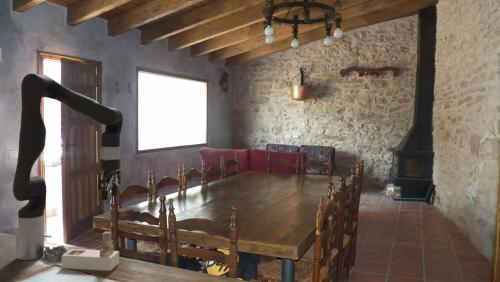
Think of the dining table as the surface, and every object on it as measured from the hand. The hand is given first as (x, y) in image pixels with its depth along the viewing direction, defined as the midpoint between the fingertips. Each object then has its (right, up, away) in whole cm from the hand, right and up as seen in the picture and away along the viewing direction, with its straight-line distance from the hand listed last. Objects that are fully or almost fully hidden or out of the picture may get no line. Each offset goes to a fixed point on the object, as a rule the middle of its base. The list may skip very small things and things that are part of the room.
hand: (109, 197), depth 153 cm
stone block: (-9, -24, -4) cm, 26 cm away
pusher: (+1, -21, -4) cm, 22 cm away
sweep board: (-6, -26, -4) cm, 27 cm away
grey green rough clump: (-24, -26, +5) cm, 35 cm away
